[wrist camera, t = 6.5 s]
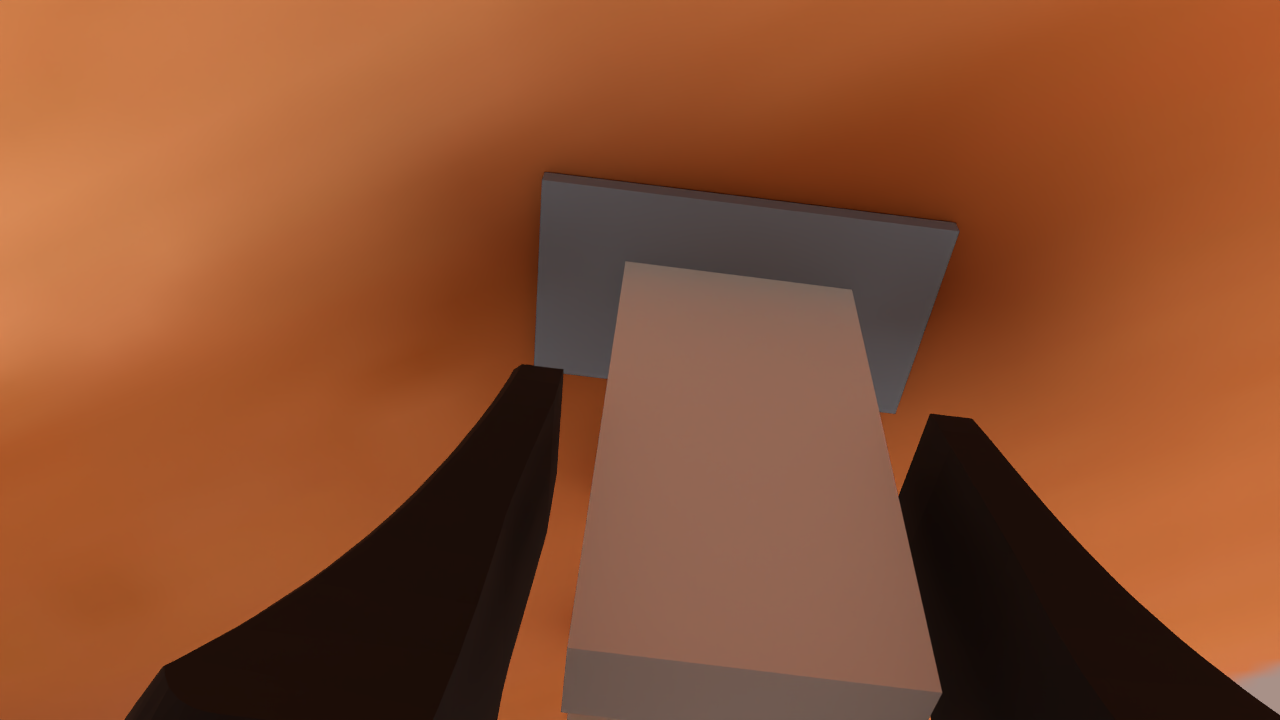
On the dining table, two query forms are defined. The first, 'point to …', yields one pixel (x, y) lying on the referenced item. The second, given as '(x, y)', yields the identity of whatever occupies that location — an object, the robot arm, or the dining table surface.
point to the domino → (744, 516)
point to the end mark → (729, 264)
